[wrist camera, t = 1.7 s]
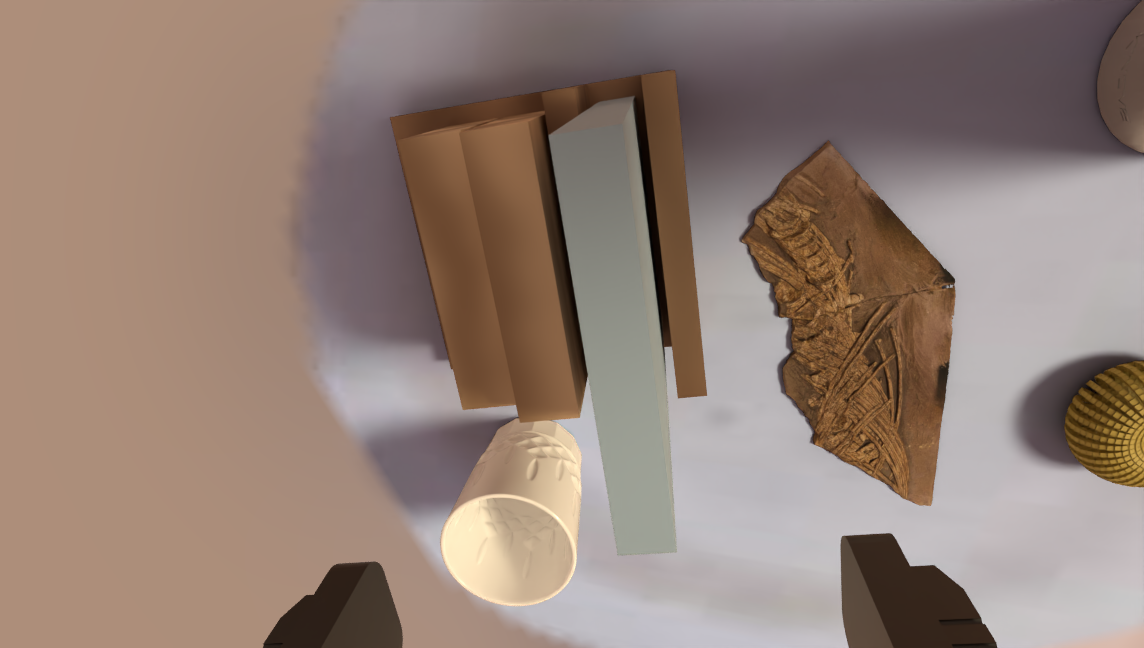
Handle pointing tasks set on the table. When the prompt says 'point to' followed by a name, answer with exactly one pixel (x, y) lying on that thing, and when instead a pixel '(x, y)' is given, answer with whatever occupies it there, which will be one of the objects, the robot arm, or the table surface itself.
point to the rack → (661, 185)
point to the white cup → (517, 516)
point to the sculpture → (1110, 425)
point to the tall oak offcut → (528, 263)
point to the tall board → (619, 316)
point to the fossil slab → (859, 321)
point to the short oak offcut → (458, 264)
